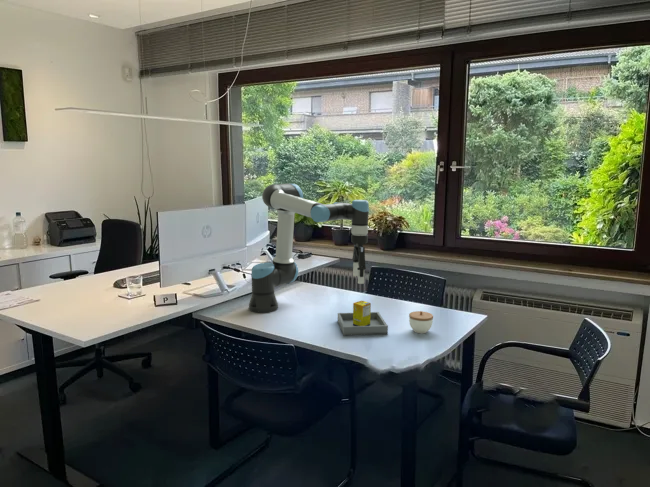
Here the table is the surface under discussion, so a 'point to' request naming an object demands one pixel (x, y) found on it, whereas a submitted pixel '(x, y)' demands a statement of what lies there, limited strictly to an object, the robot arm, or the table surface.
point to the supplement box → (361, 313)
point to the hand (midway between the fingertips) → (358, 279)
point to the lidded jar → (420, 321)
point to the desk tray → (374, 328)
